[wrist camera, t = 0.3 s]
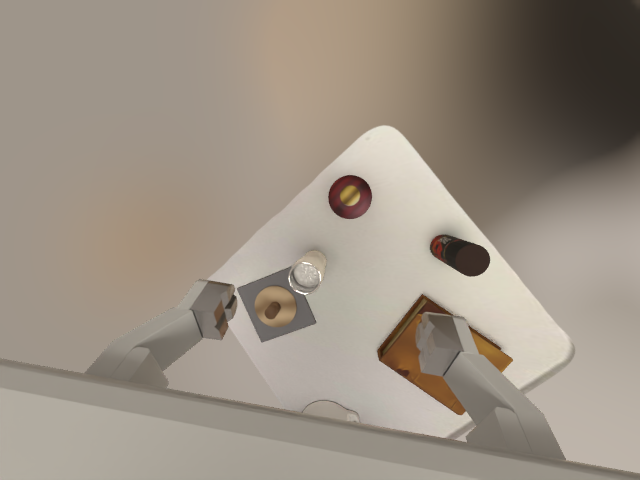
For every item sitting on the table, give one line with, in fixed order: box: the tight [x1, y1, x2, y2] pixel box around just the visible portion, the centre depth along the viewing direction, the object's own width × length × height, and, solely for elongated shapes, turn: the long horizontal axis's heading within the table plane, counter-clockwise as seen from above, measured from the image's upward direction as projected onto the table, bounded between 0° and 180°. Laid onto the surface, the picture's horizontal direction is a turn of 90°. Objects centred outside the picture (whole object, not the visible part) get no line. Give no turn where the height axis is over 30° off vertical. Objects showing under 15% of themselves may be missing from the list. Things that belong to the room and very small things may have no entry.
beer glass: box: [288, 250, 327, 294], centre depth 58 cm, size 7×7×15 cm
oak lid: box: [255, 286, 297, 327], centre depth 65 cm, size 11×11×5 cm
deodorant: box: [430, 235, 490, 276], centre depth 54 cm, size 6×6×15 cm
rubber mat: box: [237, 267, 316, 342], centre depth 68 cm, size 16×16×1 cm
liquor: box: [328, 175, 372, 219], centre depth 49 cm, size 7×7×28 cm
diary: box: [377, 294, 513, 415], centre depth 63 cm, size 23×19×6 cm
